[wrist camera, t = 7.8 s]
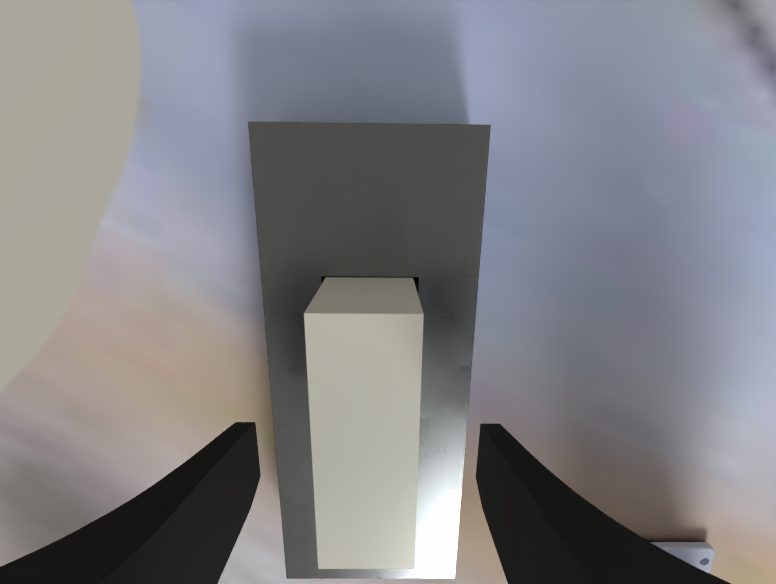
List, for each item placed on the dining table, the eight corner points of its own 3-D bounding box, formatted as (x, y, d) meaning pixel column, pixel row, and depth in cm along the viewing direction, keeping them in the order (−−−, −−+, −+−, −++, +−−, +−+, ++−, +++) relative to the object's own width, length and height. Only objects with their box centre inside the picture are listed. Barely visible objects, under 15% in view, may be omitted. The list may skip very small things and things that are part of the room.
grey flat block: (444, 524, 21) (454, 578, 18) (300, 524, 21) (286, 578, 18) (471, 135, 15) (490, 124, 13) (273, 133, 15) (248, 121, 13)
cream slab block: (404, 434, 19) (414, 568, 13) (341, 434, 19) (318, 569, 13) (408, 261, 17) (423, 314, 10) (335, 261, 17) (304, 313, 10)
